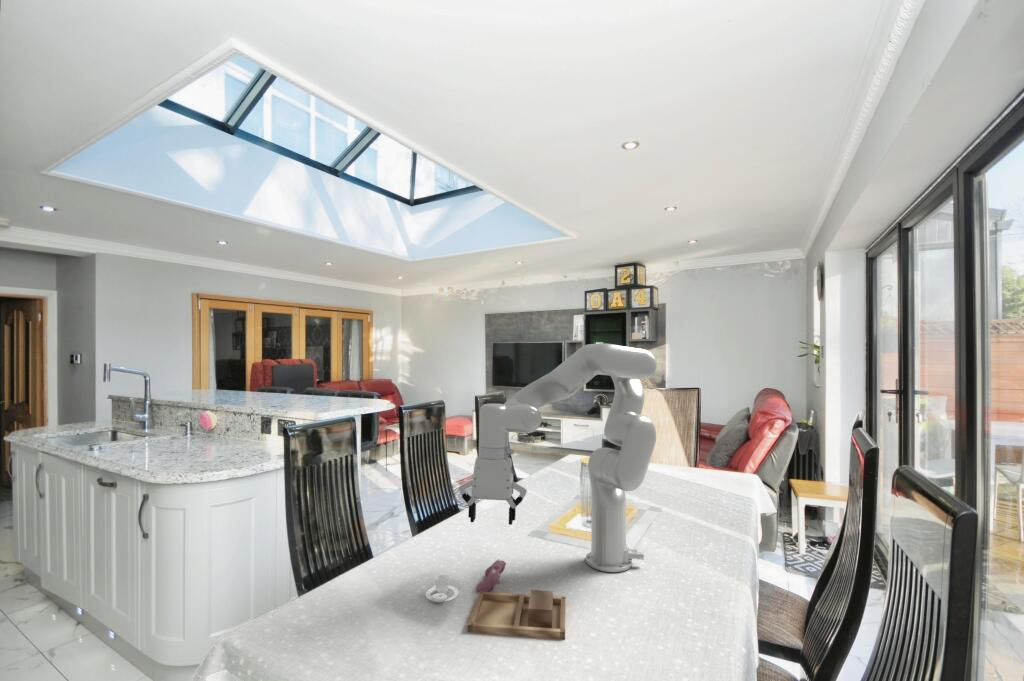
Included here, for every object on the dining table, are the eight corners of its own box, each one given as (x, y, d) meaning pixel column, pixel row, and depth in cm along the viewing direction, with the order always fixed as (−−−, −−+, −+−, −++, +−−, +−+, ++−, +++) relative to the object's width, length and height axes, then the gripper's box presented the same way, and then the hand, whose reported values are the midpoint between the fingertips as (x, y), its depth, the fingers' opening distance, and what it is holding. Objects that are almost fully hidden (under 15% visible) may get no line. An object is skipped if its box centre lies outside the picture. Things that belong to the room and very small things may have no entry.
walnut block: (552, 609, 105) (553, 591, 105) (551, 629, 97) (551, 610, 98) (530, 607, 106) (530, 589, 106) (527, 627, 98) (528, 608, 98)
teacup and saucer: (441, 609, 107) (442, 590, 107) (416, 599, 111) (416, 581, 111) (465, 592, 114) (465, 575, 114) (440, 584, 118) (440, 568, 118)
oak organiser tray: (565, 604, 108) (565, 596, 108) (565, 641, 94) (565, 632, 94) (479, 599, 110) (480, 591, 110) (467, 633, 96) (467, 625, 96)
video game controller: (490, 602, 112) (503, 577, 112) (473, 591, 113) (486, 566, 112) (499, 583, 122) (511, 559, 121) (484, 573, 122) (496, 550, 122)
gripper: (528, 451, 121) (527, 519, 120) (463, 448, 123) (461, 514, 122) (526, 457, 113) (524, 529, 113) (456, 454, 115) (454, 524, 115)
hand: (491, 521), depth 117 cm, fingers open, 9 cm apart
